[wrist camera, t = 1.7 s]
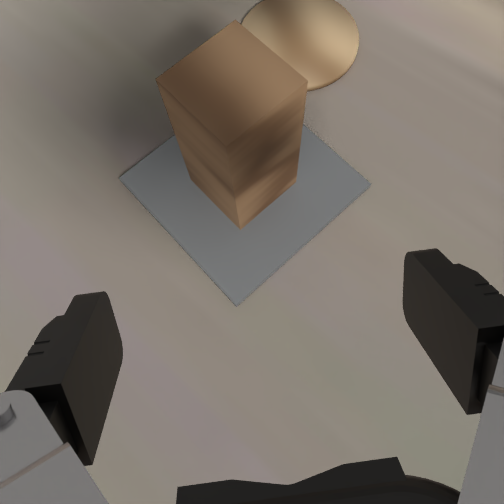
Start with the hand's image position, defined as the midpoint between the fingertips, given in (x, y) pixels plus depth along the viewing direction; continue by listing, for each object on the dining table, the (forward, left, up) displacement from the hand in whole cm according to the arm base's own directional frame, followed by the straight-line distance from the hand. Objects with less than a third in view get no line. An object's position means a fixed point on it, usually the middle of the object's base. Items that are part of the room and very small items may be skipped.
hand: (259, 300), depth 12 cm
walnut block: (-7, -9, -15) cm, 19 cm away
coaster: (-18, -15, -16) cm, 28 cm away
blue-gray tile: (-7, -9, -16) cm, 20 cm away
